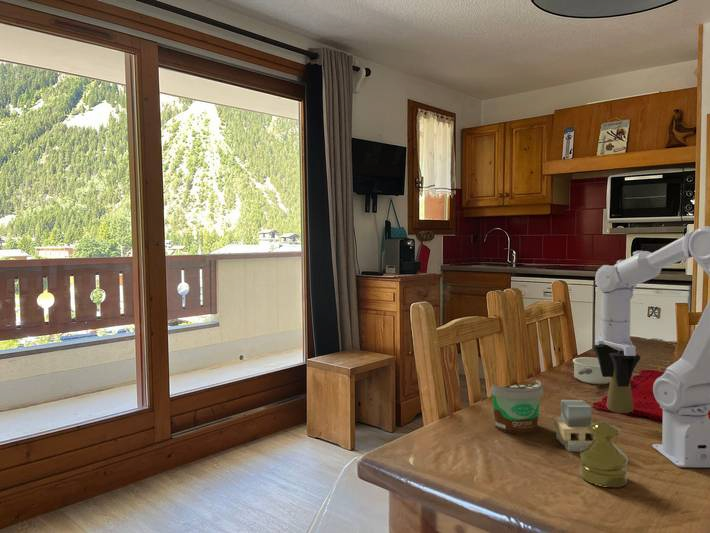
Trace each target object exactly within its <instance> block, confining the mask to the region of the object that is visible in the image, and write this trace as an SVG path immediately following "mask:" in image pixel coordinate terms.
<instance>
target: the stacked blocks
mask: <svg viewBox="0 0 710 533" xmlns="http://www.w3.org/2000/svg"><path fill="white" fill-rule="evenodd" d="M551 418H552V419H551V420H552V428H553V430H554V431H555V432H557V433H558V434H559V435H560V436H561V438H562V439H563V440H564V441H571V433H572V434H573V435H574V436H575V437H576V438H577V439H578V440H579V441H585V433H586V434H587V435H588V436H589V437H590V438H591V439H592V440H593V441H595V436H594V435H593V434H592V433H591V432H590V431H589V430H588V426H589V425H590V424H592V423H594V422H593V421H592V406H591V405H589V403H588V402H586V401H585V400H584V399H561V400H560V416H552V417H551Z"/></svg>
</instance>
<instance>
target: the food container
mask: <svg viewBox="0 0 710 533" xmlns="http://www.w3.org/2000/svg"><path fill="white" fill-rule="evenodd" d="M544 393H545V392H544V389H543V385H542V383H541V381H540V380H538V379H535V383H529V384H527V383H526V384H523V383H522V384H521V383H515V384H514V383H513V384H510V385H506V386H499V385H495V384H492V383H491V386H490V388H489V394H490V395H492V404H493V405H492V406H493V414H494V425H495V427H494V428H495V429H496V428H497V429H496V430H498V429H499V430H498V431H500V430H502V431H501V432H503V431H505V432H504V433H506V432H510V433H509V434H511V433H516V434H515V435H529V434H528V433H530V434H533V433H535V432H536V431H537V429H538V422H539V412H540V405H541V404H540V402H541V397H543V395H544ZM532 432H533V433H532Z"/></svg>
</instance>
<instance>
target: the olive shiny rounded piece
mask: <svg viewBox="0 0 710 533" xmlns="http://www.w3.org/2000/svg"><path fill="white" fill-rule="evenodd" d="M588 430H589V431H590V432H591V433H592V434H593V435H594V436H595V441H593V442H592V443H590V444H589V445H588V446H585V447H584V448H582V449H581V451H579V455H580V459H581V461H580V463H579V466H580V470H579V471H580V473H579V474H580V476H581V478H582V479H583V480H584V479H585V480H586V481H585V480H584V481H585V482H587V481H588V482H587V483H589V482H590V483H589V484H591V483H593V484H597V485H601V486H607V487H620V488H622V487H621V486H623V487H624V485H625V486H626V485H627V484H626V483H628V469H627V466H628V462H629V460H628V456H627V455H626V454H625V453H624V452H623V451H622V450H620V448H618V446H616V445H615V443H613V440H614V439H615V438H616V437H618V436H619V435H620V433H621V431H620V428H618V426H615V425H614V424H612V423H610V422H609V421H606V420H598V421H596V422H593V423H592V424H590V425H589V426H588ZM593 484H592V485H593Z"/></svg>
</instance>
